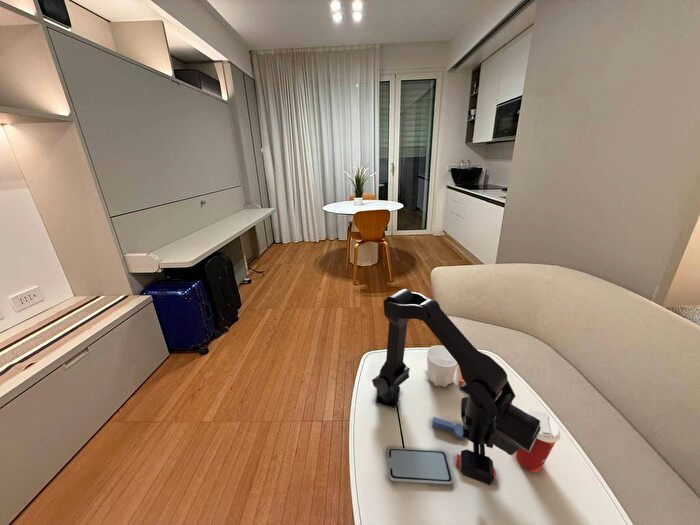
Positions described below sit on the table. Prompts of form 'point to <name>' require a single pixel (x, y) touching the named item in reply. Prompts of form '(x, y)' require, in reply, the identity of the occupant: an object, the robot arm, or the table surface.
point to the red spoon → (459, 464)
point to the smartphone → (419, 466)
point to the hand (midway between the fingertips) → (470, 457)
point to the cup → (440, 365)
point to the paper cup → (539, 443)
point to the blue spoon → (448, 427)
